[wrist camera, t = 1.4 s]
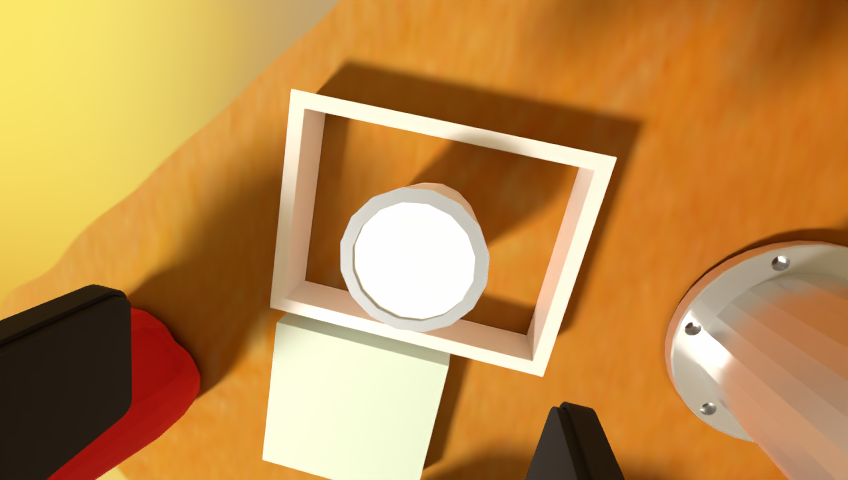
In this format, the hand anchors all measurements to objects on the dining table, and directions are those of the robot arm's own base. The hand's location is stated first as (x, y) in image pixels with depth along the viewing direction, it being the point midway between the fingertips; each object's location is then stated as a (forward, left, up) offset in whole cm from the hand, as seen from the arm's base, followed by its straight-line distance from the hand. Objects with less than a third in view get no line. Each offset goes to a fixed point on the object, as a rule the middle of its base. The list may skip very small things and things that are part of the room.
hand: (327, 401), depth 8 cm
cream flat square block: (+2, +13, -17) cm, 21 cm away
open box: (0, 0, -17) cm, 17 cm away
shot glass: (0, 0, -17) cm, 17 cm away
